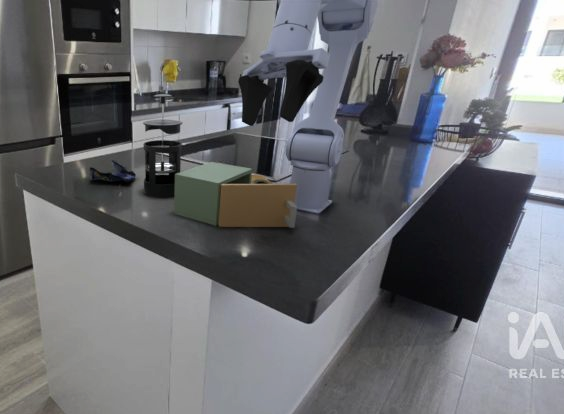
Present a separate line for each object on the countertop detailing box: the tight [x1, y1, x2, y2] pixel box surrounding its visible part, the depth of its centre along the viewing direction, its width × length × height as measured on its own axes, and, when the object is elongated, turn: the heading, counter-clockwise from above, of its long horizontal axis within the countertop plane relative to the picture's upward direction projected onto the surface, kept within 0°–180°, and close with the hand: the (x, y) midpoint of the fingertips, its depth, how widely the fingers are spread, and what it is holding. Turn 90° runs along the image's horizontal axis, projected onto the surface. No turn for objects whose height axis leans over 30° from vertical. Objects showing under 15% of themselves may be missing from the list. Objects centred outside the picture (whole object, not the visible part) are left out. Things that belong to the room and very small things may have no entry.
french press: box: [142, 93, 183, 199], centre depth 89 cm, size 12×9×23 cm
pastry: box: [251, 174, 272, 184], centre depth 95 cm, size 9×7×4 cm
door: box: [218, 183, 298, 229], centre depth 69 cm, size 4×14×8 cm, turn 89°
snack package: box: [88, 159, 137, 183], centre depth 102 cm, size 12×6×12 cm
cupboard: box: [173, 161, 253, 227], centre depth 79 cm, size 10×14×9 cm
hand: (265, 121), depth 56 cm, fingers open, 7 cm apart
